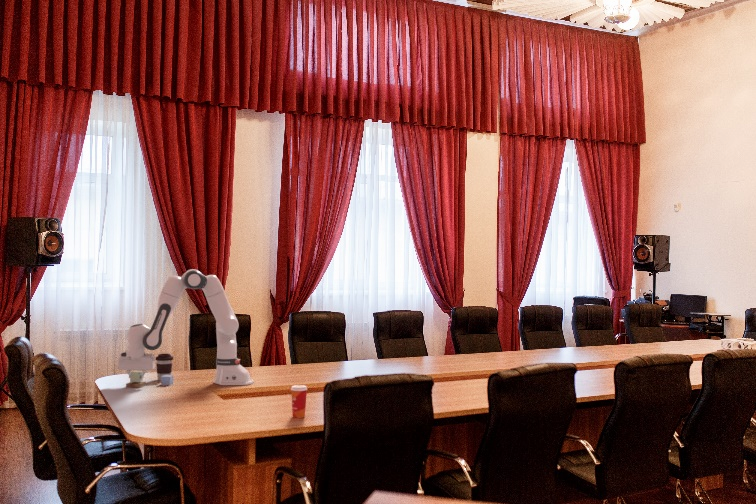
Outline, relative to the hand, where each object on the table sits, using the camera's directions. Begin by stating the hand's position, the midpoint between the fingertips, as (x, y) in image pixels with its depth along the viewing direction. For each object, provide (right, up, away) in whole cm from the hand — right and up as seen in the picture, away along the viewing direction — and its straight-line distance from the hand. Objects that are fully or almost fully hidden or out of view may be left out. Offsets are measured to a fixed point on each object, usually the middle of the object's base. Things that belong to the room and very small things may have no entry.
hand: (136, 378), depth 386 cm
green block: (0, -2, 0) cm, 2 cm away
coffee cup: (+9, -5, +20) cm, 23 cm away
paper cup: (+98, -6, -66) cm, 118 cm away
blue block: (+15, -5, +6) cm, 17 cm away
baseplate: (0, -5, 0) cm, 5 cm away
